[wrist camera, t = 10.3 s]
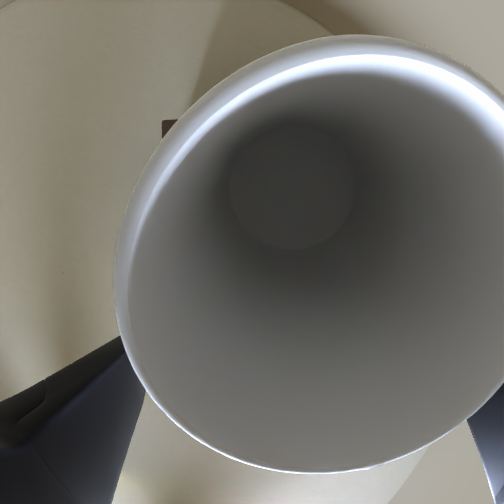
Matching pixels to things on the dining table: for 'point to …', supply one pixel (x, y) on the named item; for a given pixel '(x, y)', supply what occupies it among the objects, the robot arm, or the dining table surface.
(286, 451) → the mug
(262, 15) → the dining table surface
